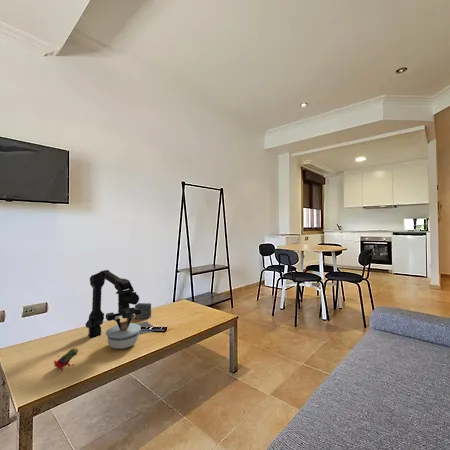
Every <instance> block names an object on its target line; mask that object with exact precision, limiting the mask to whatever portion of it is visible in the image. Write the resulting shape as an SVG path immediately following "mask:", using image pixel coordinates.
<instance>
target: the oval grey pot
mask: <svg viewBox="0 0 450 450" xmlns="http://www.w3.org/2000/svg"><path fill="white" fill-rule="evenodd" d="M139 336H140V335H139V333H137V334H135V335H133V336H130V337H126V338H110V337H108V336H107V344H108V345H109V347H110V348H113V349H115V350H116V349H117V350H124V349H127V348H129V347H132V346H133V345H135V344H136V343H137V341H138V340H139Z"/></svg>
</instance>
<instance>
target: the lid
mask: <svg viewBox="0 0 450 450" xmlns="http://www.w3.org/2000/svg"><path fill="white" fill-rule="evenodd" d="M120 326H121V330H120V329H119V327H118V324H117V325H114V326H111V327H109V328H108V329H107V330H106V331H105V335H106V337H107V338H108V337H110V338H126V337H130V336H133V335H135V334H137V333H139V332H140V331H141V326H140V325H138V323H131V322H130V324H129V327H127V320H126V321H120Z"/></svg>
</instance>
